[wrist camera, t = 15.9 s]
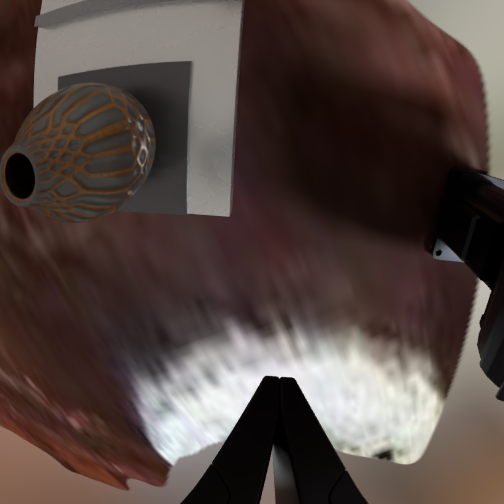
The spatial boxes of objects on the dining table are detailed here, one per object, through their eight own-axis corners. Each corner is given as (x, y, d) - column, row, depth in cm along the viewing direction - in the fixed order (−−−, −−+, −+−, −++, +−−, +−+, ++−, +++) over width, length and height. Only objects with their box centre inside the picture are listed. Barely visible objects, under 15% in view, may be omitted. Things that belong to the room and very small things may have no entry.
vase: (57, 120, 17) (-47, 147, 9) (143, 62, 15) (45, 45, 7) (99, 212, 19) (14, 280, 11) (190, 168, 18) (123, 224, 10)
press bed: (251, -70, 12) (248, -87, 10) (232, 210, 20) (226, 222, 18) (59, -36, 12) (43, -43, 10) (50, 200, 21) (33, 210, 19)
